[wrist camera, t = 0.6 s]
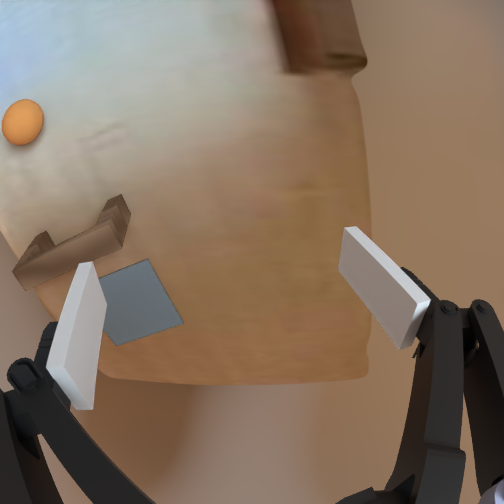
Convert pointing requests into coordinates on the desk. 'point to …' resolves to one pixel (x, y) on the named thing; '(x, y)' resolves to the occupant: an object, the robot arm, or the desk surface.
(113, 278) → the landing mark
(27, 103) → the ball
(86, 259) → the bridge
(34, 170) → the desk surface
